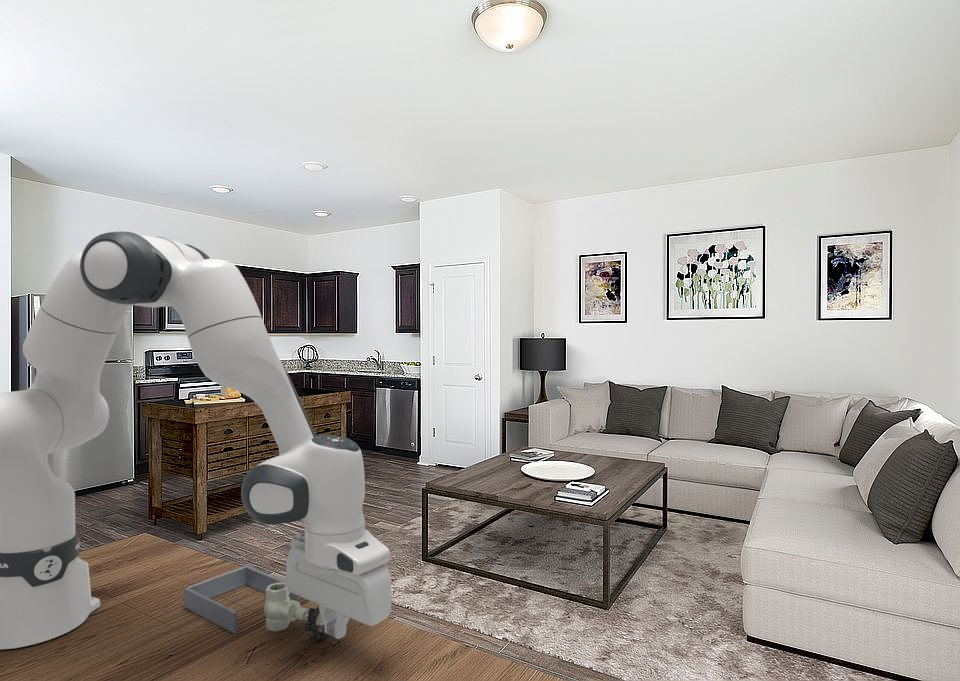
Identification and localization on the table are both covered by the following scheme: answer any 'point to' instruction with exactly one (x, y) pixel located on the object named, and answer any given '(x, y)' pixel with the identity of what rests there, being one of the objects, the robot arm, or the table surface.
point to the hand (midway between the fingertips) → (335, 634)
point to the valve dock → (203, 591)
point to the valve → (290, 612)
